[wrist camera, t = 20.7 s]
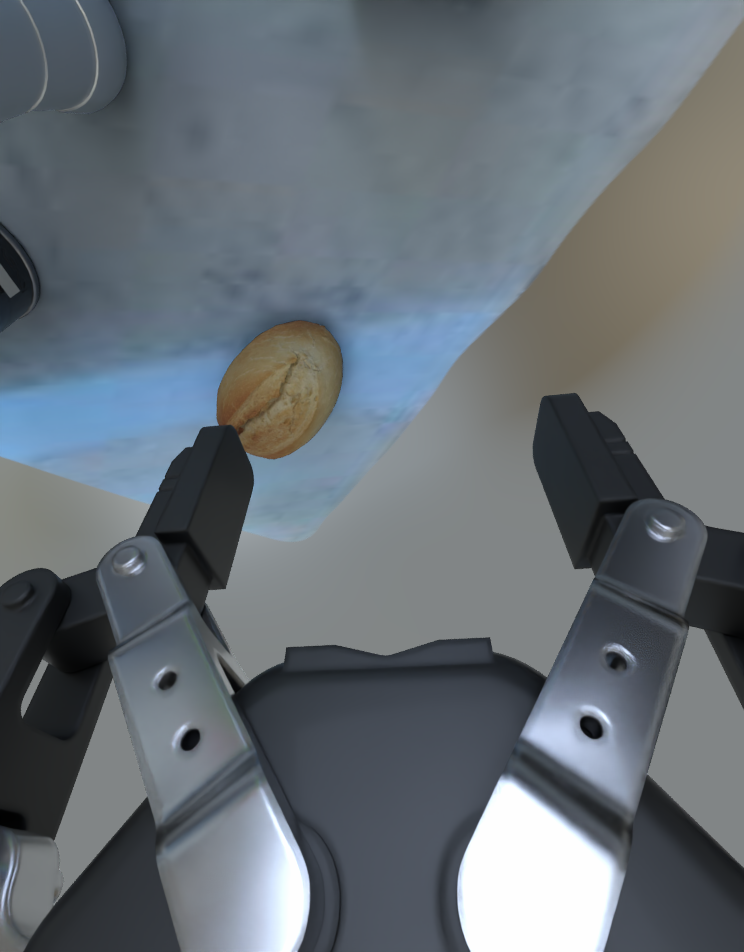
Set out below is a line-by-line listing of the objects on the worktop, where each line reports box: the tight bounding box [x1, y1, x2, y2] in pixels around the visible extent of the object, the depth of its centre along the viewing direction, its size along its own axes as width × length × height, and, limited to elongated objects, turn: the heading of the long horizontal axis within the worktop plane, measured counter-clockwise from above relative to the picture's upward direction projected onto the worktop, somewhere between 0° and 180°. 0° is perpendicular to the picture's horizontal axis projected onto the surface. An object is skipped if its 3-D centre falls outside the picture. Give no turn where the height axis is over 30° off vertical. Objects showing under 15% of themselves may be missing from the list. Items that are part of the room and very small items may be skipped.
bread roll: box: [216, 320, 343, 459], centre depth 39 cm, size 10×15×8 cm, turn 146°
